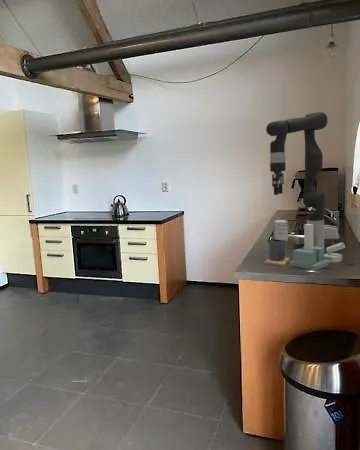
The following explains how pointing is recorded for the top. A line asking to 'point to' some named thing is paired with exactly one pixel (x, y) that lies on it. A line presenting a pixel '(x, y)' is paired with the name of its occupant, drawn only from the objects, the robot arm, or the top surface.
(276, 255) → the steel sleeve
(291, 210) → the top surface
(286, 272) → the top surface
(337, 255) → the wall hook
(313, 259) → the vise
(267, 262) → the wooden pad
